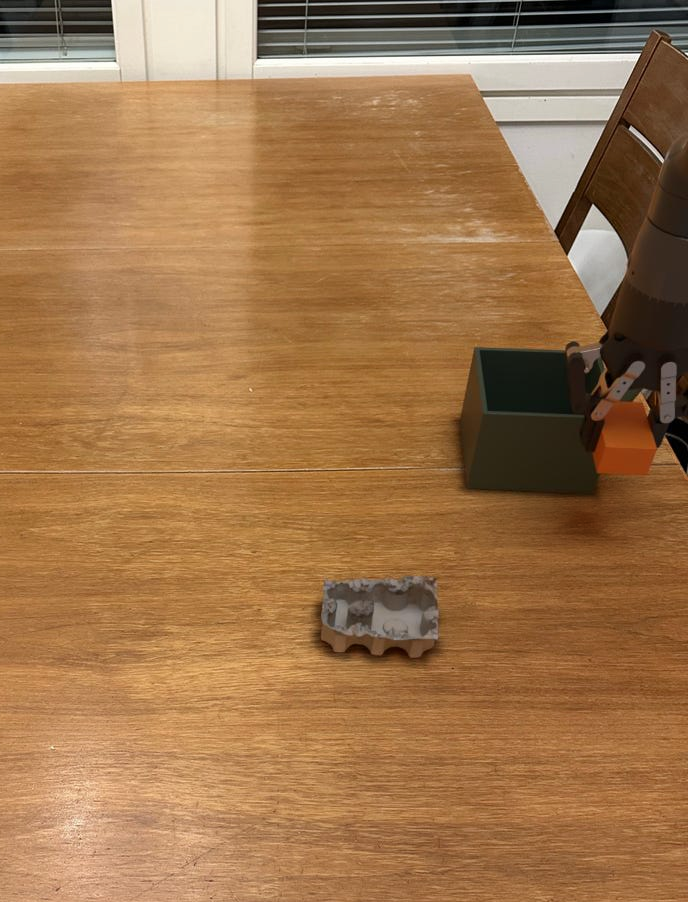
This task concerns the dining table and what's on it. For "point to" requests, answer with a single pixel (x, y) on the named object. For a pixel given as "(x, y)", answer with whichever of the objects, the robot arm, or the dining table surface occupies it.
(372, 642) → the egg carton
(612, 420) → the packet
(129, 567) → the dining table surface
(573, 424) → the dark green box
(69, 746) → the dining table surface
